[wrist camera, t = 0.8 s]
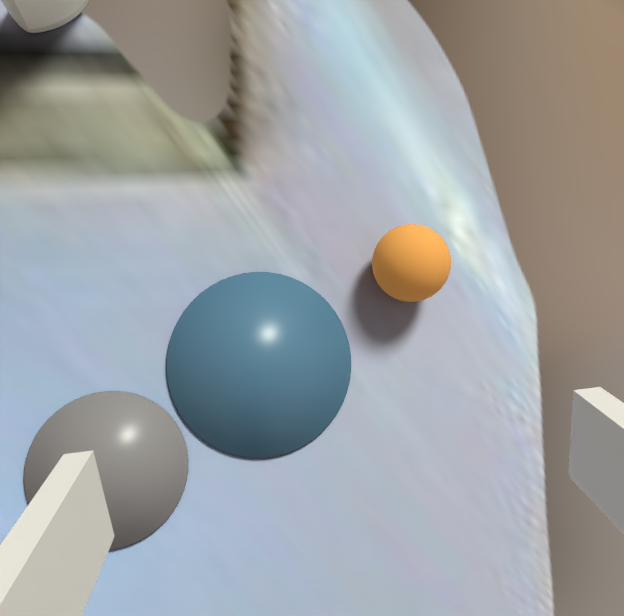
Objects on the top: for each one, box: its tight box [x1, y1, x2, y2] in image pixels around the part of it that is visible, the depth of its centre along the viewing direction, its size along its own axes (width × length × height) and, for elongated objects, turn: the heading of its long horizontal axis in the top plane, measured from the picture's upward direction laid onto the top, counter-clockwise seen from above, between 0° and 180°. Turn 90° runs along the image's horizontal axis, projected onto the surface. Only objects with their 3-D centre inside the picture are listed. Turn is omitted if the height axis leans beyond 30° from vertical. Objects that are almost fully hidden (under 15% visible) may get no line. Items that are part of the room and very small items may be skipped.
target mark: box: [167, 272, 351, 458], centre depth 36 cm, size 13×13×1 cm
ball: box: [372, 224, 451, 302], centre depth 36 cm, size 6×6×6 cm
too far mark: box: [24, 391, 188, 550], centre depth 33 cm, size 10×10×1 cm
